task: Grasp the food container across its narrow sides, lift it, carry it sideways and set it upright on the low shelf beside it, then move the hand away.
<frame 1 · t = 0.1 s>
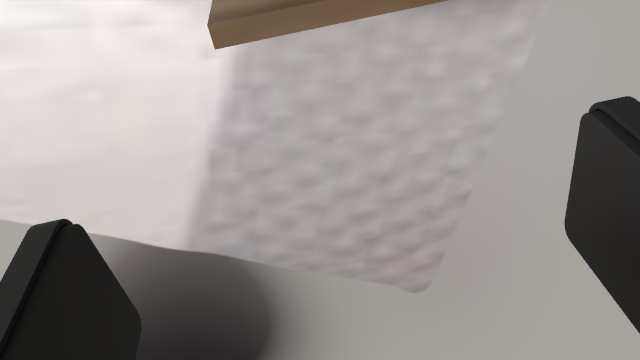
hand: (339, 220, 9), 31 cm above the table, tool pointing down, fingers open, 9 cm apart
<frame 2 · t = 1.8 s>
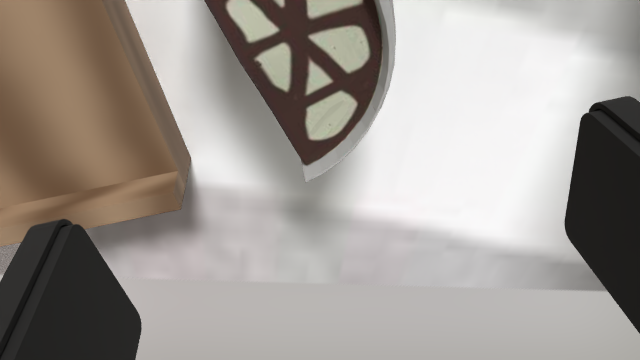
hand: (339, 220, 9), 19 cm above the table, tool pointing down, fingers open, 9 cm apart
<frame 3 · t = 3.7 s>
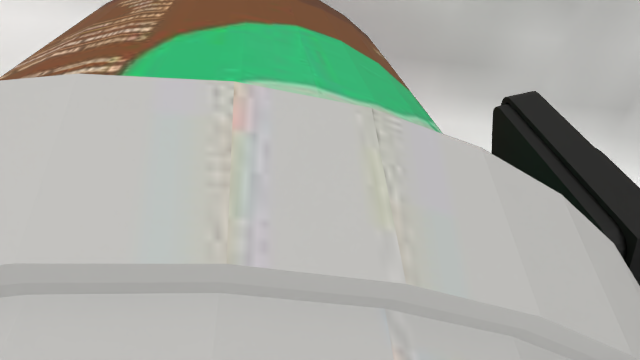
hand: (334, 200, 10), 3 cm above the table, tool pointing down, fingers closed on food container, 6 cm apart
food container: (327, 110, 13), on the table, touching gripper
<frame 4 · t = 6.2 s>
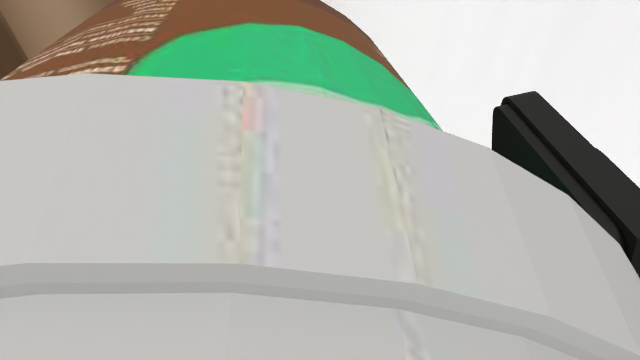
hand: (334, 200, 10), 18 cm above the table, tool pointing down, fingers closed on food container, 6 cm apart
food container: (329, 111, 13), point 15 cm above the table, touching gripper
when the fingers open (7 cm above the table, at t = 9.0 s): food container drops 1 cm, resting on low wooden shelf.
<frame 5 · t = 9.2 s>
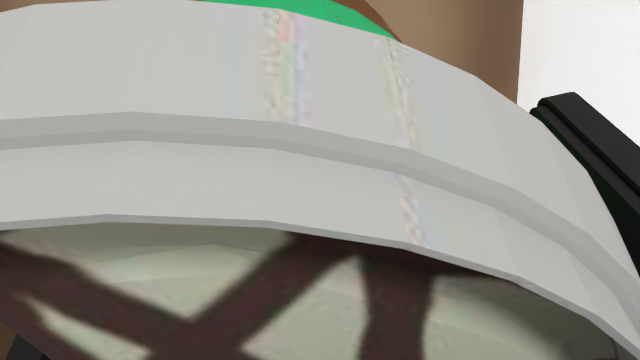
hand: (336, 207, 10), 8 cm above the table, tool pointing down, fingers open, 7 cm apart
food container: (339, 85, 14), point 3 cm above the table, touching low wooden shelf
low wooden shelf: (267, 63, 16), on the table
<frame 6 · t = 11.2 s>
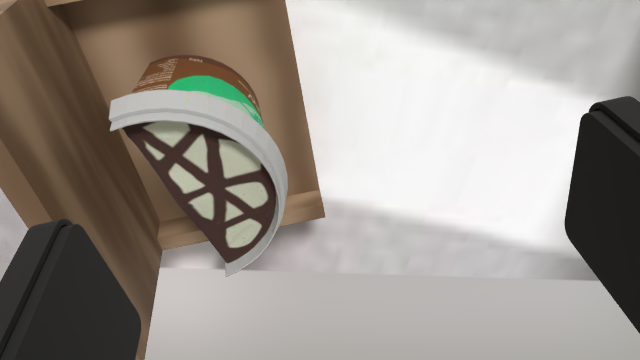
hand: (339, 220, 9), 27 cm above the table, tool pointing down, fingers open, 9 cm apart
food container: (229, 101, 34), point 3 cm above the table, touching low wooden shelf
low wooden shelf: (203, 90, 36), on the table
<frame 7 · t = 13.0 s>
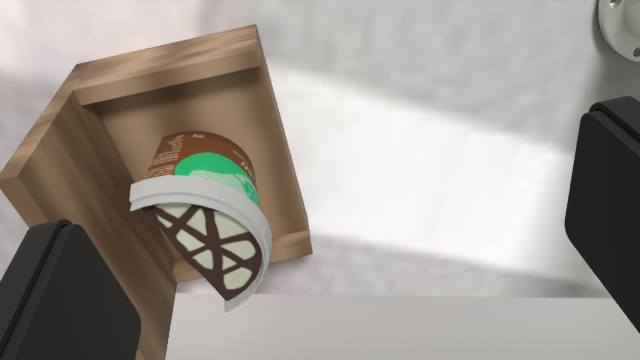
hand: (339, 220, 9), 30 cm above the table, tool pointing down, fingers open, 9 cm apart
food container: (227, 163, 41), point 3 cm above the table, touching low wooden shelf
low wooden shelf: (207, 151, 43), on the table
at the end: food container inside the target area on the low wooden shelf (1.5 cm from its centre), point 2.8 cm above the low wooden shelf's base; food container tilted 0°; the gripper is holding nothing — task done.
